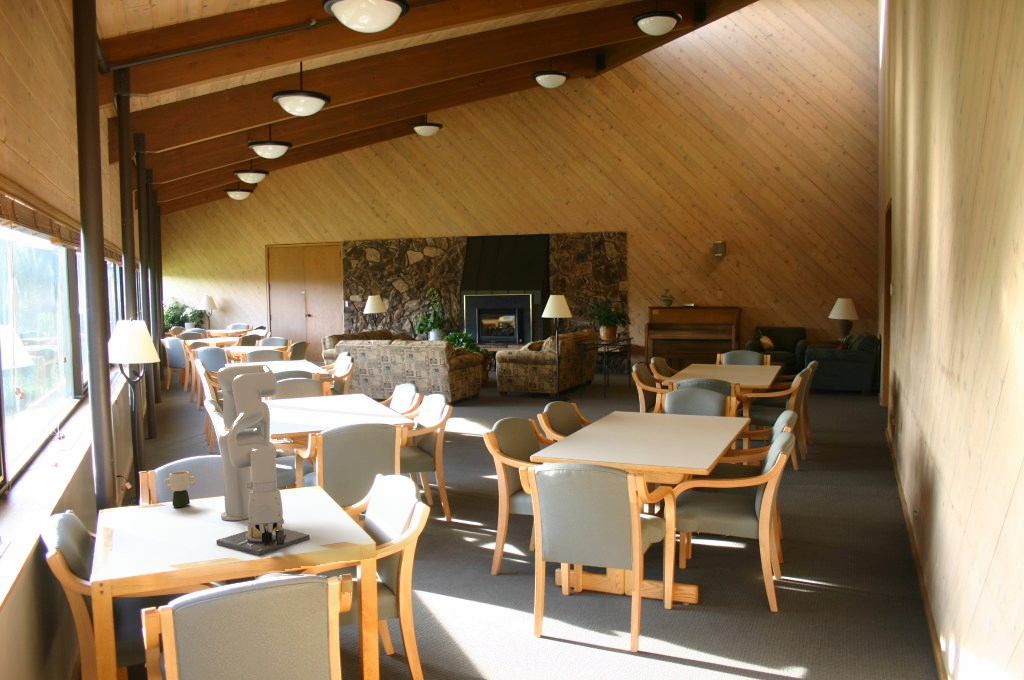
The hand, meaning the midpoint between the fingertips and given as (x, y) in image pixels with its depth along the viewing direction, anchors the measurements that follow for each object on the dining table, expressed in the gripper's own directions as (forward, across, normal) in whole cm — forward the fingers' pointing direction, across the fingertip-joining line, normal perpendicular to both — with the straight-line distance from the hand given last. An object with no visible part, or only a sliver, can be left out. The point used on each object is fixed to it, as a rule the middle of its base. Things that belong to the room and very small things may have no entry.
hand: (267, 543), depth 268 cm
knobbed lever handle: (+1, +1, +9) cm, 9 cm away
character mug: (+4, -35, +72) cm, 80 cm away
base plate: (+3, -2, +13) cm, 13 cm away
